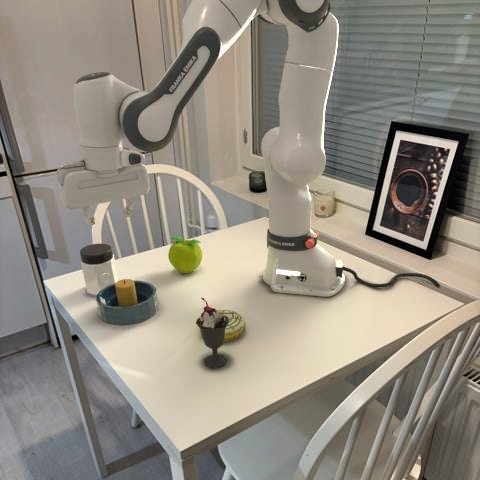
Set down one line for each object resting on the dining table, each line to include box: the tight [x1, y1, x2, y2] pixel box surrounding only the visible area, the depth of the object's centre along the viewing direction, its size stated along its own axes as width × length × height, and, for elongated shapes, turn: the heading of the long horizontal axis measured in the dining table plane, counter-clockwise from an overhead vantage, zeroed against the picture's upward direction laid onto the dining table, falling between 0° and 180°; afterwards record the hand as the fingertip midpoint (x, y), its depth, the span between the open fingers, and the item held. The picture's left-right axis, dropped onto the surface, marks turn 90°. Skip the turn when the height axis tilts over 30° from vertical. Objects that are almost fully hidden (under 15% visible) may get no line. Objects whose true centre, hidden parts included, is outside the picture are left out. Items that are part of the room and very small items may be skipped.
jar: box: [79, 243, 119, 296], centre depth 131 cm, size 9×8×12 cm
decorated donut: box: [198, 308, 246, 342], centre depth 113 cm, size 10×11×4 cm
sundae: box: [195, 297, 229, 369], centre depth 100 cm, size 7×7×15 cm
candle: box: [115, 278, 138, 307], centre depth 121 cm, size 5×5×8 cm
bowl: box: [95, 279, 159, 326], centre depth 122 cm, size 15×15×5 cm
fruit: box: [167, 235, 203, 274], centre depth 140 cm, size 9×9×10 cm
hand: (109, 220), depth 112 cm, fingers open, 8 cm apart
